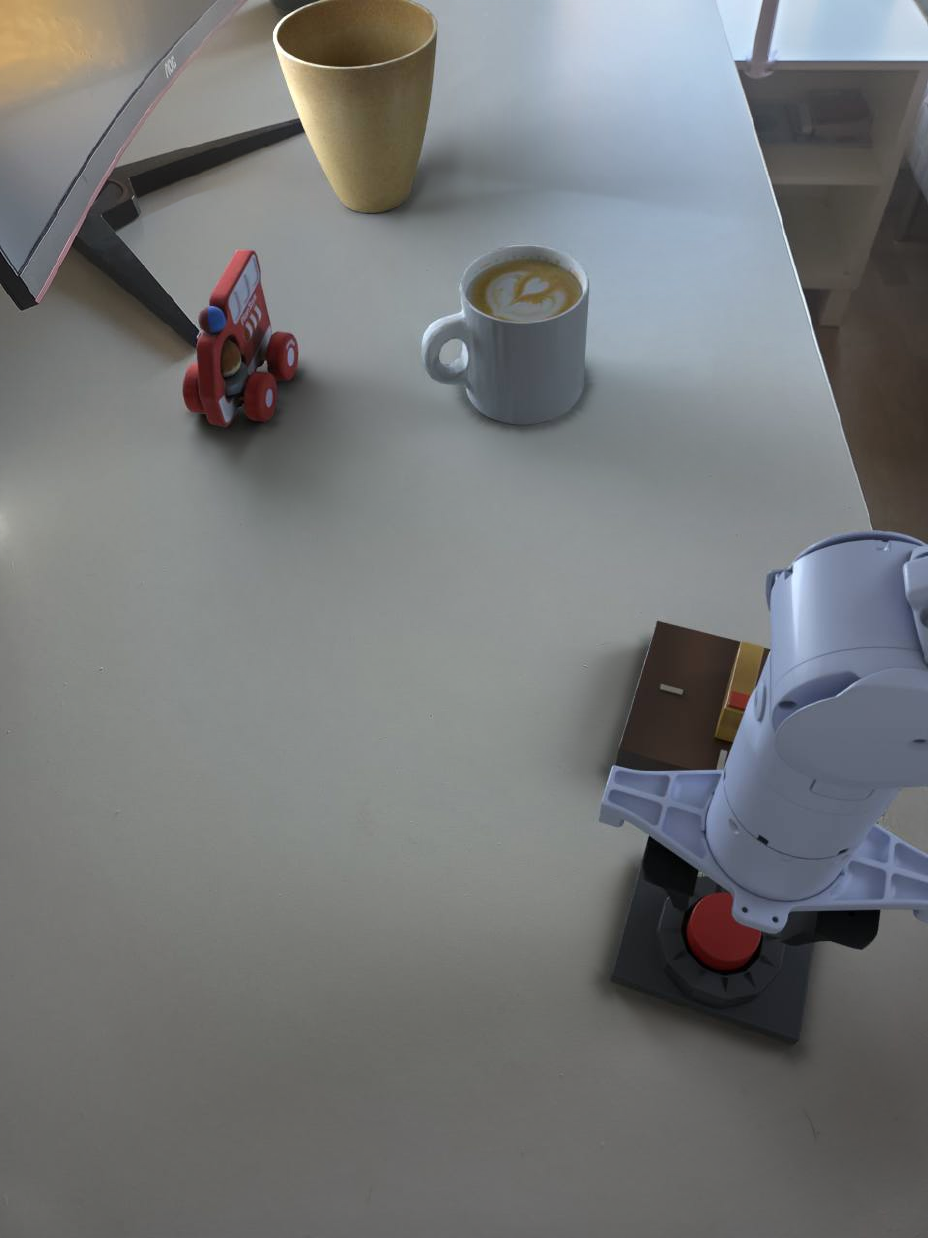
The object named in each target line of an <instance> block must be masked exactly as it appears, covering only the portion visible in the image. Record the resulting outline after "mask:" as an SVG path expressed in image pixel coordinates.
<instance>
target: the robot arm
mask: <svg viewBox="0 0 928 1238" xmlns="http://www.w3.org/2000/svg"><path fill="white" fill-rule="evenodd" d="M765 599H766V604H767V608H768V610H769V614H770V649H771V650H770V652H769V655H768V658H767V660H766V663H765V666H764V668H763V671H762V674H761V676H760V679H759V682H758V684H757V686H756V688H755V690H754V691H753V693H752V695H751V697H750V699H749V701H748V704H747V707H746V709H745V713H744V715H743V718H742V721H741V723H740V726H739V729H738V731H737V734H736V737H735V739H734V742H733V745H732V748H731V750H730V753H729V756H728V758H727V761H726V764H725V767H724V769H723V770H696V771H638V770H631V769H627V768H623V767H618V766H615V765H616V764H615V765H612V767H611V769H610V771H609V776H608V779H607V782H606V786H605V788H604V792H603V796H602V799H601V802H600V809H599V814H598V822H599V823H602V824H605V825H608V826H610V827H611V826H612V827H615V828H620V827H622V826H624V823H625V822H627V823H629V824H631V825H632V826H633V827H636V828H637V829H639V830H641V831H642V832H644V834H646V835H648V837H647V841H646V845H645V848H644V851H643V855H642V859H641V860H642V872H643V877H644V880H645V881H647V882H649V883H651V884H653V885H656V886H659V887H662V888H663V889H664V890H665V891H666V892H667V894H668V895H669V897H670V899H671V902H672V906H673V908H676V909H679V910H682V911H686V910H687V907H688V903H689V899H690V897H693V894H694V890H695V885H696V881H697V877H699V873H701V874H703V875H704V876H708V877H709V878H710V879H712V880H713V881H715V882H716V883H718V884H719V885H720V886H722V887H723V888H725V889H726V890H728V891H729V892H730V893H731V895H732V897H733V905H732V916H733V917H734V919H735V921H737V922H738V923H740V924H742V925H745V926H748V927H751V928H754V929H757V930H760V931H763V932H766V933H771V934H776V933H778V932H780V931H781V930H782V933H781V939H780V942H781V943H784V944H787V945H791V946H799V945H803V944H808V943H814V944H815V943H821V942H830V943H834V944H836V945H837V944H838V945H840V946H844V947H847V948H850V949H854V950H859V951H863V950H864V949H866V948H867V947H868V946H869V945H870V944H871V943H872V942H873V941H874V940H875V939H876V937H877V936H878V933H879V928H880V927H879V926H880V921H881V920H880V918H881V911H882V910H912V913H913V917H914V918H915V919H916V920H918V921H920V922H923V923H926V924H928V854H927V853H926V852H924V851H921V850H920V849H918V848H917V847H914V846H913V845H912V844H910V843H908V842H907V841H905V840H904V839H901V838H900V837H899V836H897V835H895V834H893V833H892V832H891V831H889V830H888V829H886V828H884V827H882V826H881V825H879V824H877V822H878V821H879V820H880V818H881V817H882V815H883V814H884V813H885V812H886V810H887V809H888V808H889V806H890V804H891V803H892V802H893V800H894V799H895V798H896V796H897V795H898V793H899V792H900V791H901V790H902V789H905V788H919V787H928V544H927V543H925V542H924V541H922V540H920V539H917V538H916V537H913V536H910V535H907V534H904V533H900V532H895V531H891V530H890V531H889V530H888V531H885V530H884V531H883V530H880V529H879V530H877V529H875V530H874V529H873V530H872V529H870V530H869V529H867V530H856V531H848V532H844V533H840V534H835V535H833V536H830V537H827V538H824V539H821V540H820V541H817V542H816V543H814V544H812V545H810V546H808V547H807V548H806V549H804V550H803V551H802V552H800V553H799V554H798V555H797V556H796V557H795V559H793V561H792V562H791V564H790V565H789V566H788V567H786V568H779V569H777V568H776V569H771V570H770V571H768V573H767V574H766V578H765Z"/></svg>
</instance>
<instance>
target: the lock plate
mask: <svg viewBox="0 0 928 1238" xmlns="http://www.w3.org/2000/svg"><path fill="white" fill-rule="evenodd" d="M740 643H741V641H740V640H736V639H732V638H729V637H724V636H721V635H717V634H712V633H709V632H706V631H705V632H704V631H699V630H697V629H692V628H688V627H685V626H680V625H677V624H672V623H668V622H665V621H661V620H656V621H655V625H654V628H653V632H652V636H651V638H650V642H649V645H648V648H647V652H646V655H645V658H644V662H643V665H642V668H641V672H640V675H639V678H638V681H637V684H636V688H635V691H634V694H633V698H632V701H631V706H630V708H629V712H628V715H627V718H626V722H625V724H624V728H623V731H622V734H621V737H620V742H619V745H618V748H617V754H616V759H615V760H616V761H615V766H618V767H623V768H627V769H631V770H638V771H696V770H723V769H724V767H725V764H726V761H727V758H728V756H729V753H730V750H731V748H732V745H733V742H729V741H726V740H722V739H719V738H716V737H715V733H716V729H717V725H718V721H719V717H720V713H721V710H722V706H723V702H724V698H725V694H726V690H727V686H728V682H729V678H730V674H731V670H732V667H733V664H734V661H735V658H736V655H737V652H738V649H739V646H740ZM770 650H771V648H769V647H768V648H767V647H764V651H763V655H762V660H761V664H760V668H759V673H758V677H757V681H756V686H757V684H758V682H759V679H760V676H761V674H762V671H763V668H764V666H765V663H766V660H767V658H768V655H769V652H770ZM756 686H755V688H756Z"/></svg>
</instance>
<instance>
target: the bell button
mask: <svg viewBox="0 0 928 1238" xmlns="http://www.w3.org/2000/svg"><path fill="white" fill-rule="evenodd" d="M732 905H733V897H732V895H731V894H727V893H715V894H711V895H708V896H706V897H705V898H703V899H702V900H700V901H699V902H698V903H697V905H696V906H695V908H694V910H693V912H692V914H691V917H690V919H689V921H688V925H687V940H688V943H689V946H690V948H691V950H692V952H693V953H694V955H695V956H696V957H697V958H698V959H699V960H700V961H701V962H702V963H704V964H705V965H707V966H709V967H711V968H714V969H717V970H723V971H728V970H734V969H737V968H739V967H741V966H743V965H744V964H745V963H747V962H748V960H749V959H750V958H751V956H752V955H753V953H754V952H755V950H756V948H757V947H758V945H759V942H760V939H761V931H760V930H757V929H754V928H751V927H748V926H745V925H742V924H740V923H738V922H737V921H735V919H734V917H733V916H732Z"/></svg>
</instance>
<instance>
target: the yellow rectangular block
mask: <svg viewBox="0 0 928 1238" xmlns="http://www.w3.org/2000/svg"><path fill="white" fill-rule="evenodd" d="M740 642H741V643H740V646H739V649H738V652H737V655H736V658H735V661H734V664H733V667H732V670H731V674H730V678H729V682H728V686H727V690H726V694H725V698H724V702H723V706H722V710H721V713H720V717H719V721H718V725H717V729H716V733H715V737H716V738H719V739H722V740H726V741H729V742H734V739H735V737H736V734H737V731H738V729H739V726H740V723H741V721H742V718H743V715H744V713H745V709H746V707H747V704H748V701H749V699H750V697H751V695H752V693H753V691H754V690H755V686H756V681H757V677H758V673H759V668H760V664H761V660H762V655H763V651H764V648H765V647H764V646H763V645H758V644H756V643H751V642H746V641H744V640H741V641H740Z"/></svg>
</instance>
